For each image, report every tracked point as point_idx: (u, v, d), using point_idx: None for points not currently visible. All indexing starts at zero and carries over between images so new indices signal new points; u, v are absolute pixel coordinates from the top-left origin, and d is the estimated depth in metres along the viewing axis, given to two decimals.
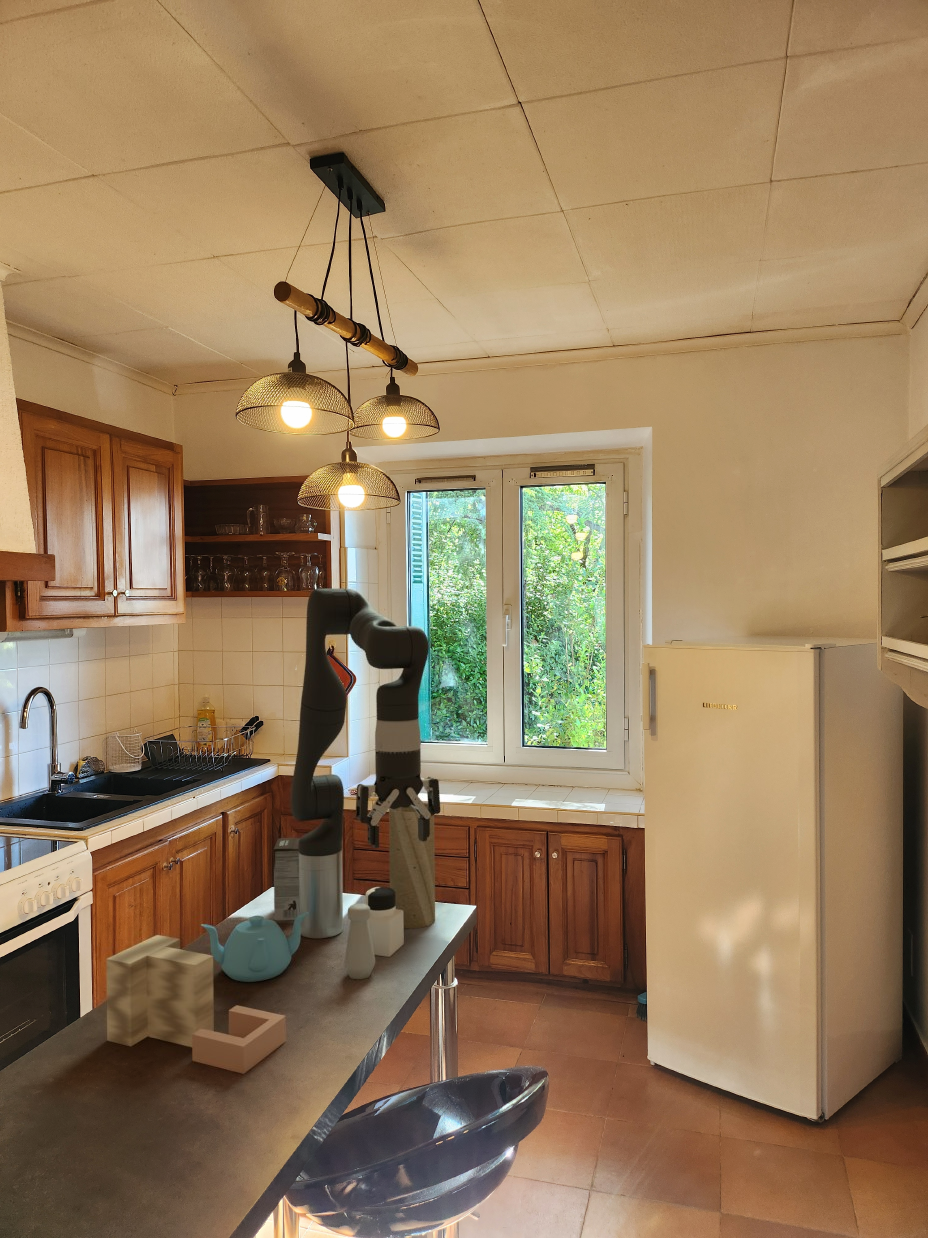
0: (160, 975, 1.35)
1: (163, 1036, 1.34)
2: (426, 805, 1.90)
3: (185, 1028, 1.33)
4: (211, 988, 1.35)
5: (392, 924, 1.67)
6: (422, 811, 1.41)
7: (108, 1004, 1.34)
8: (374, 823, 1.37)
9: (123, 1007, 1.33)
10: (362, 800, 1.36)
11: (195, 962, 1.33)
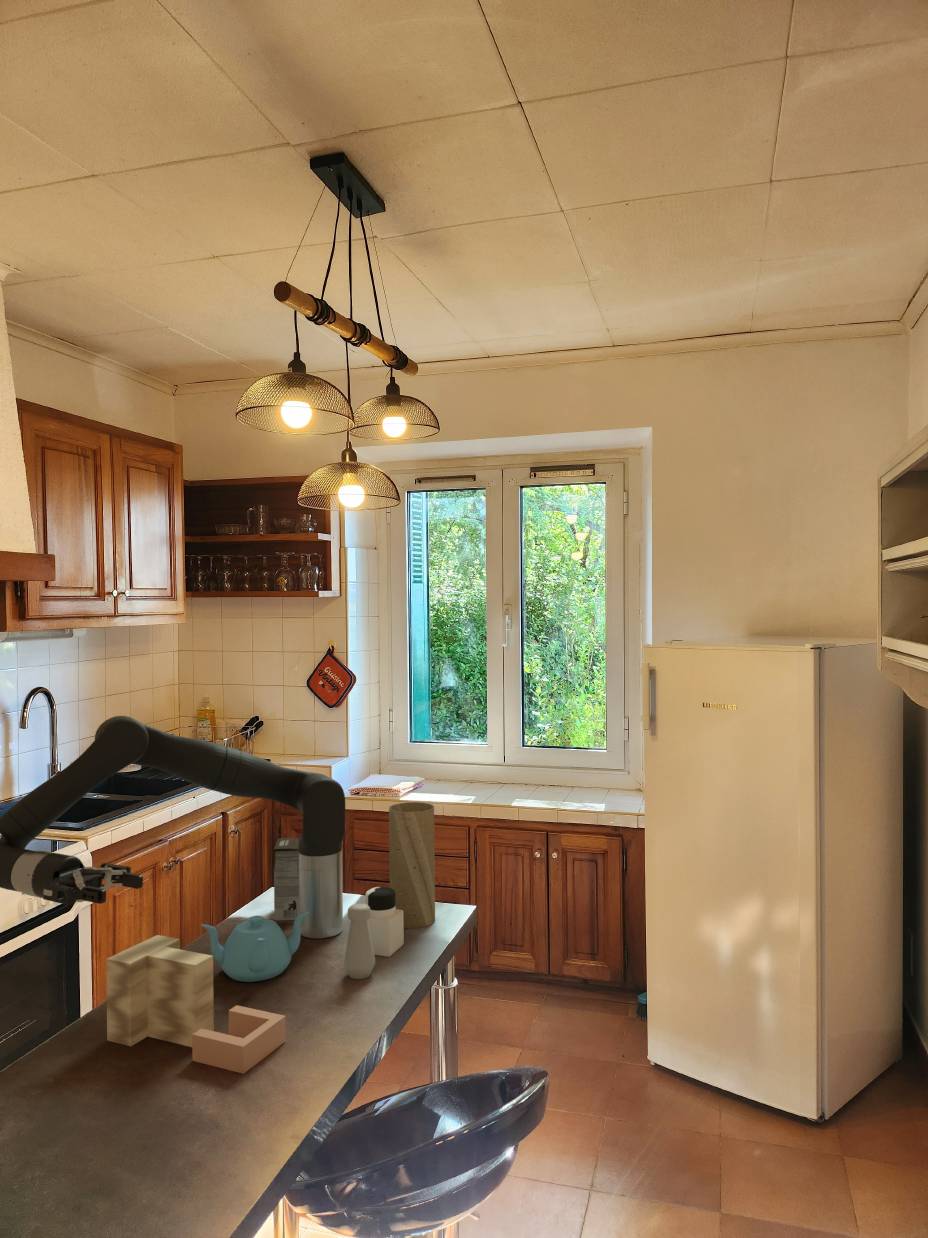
0: (160, 975, 1.35)
1: (163, 1036, 1.34)
2: (426, 805, 1.90)
3: (185, 1028, 1.33)
4: (211, 988, 1.35)
5: (392, 924, 1.67)
6: None
7: (108, 1004, 1.34)
8: None
9: (122, 1007, 1.33)
10: None
11: (195, 962, 1.33)
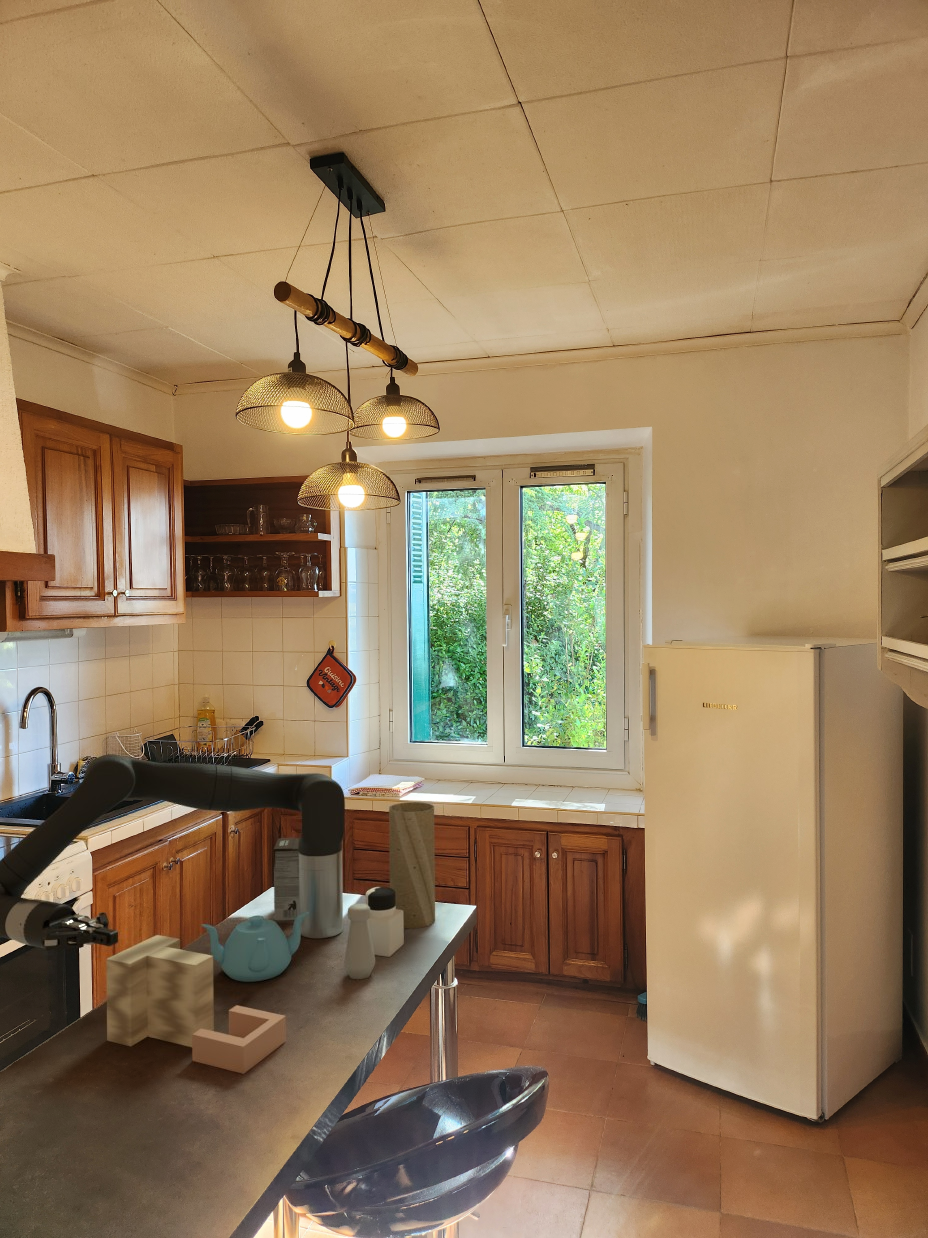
0: (160, 975, 1.35)
1: (163, 1036, 1.34)
2: (426, 805, 1.90)
3: (185, 1028, 1.33)
4: (211, 988, 1.35)
5: (392, 924, 1.67)
6: None
7: (108, 1004, 1.34)
8: None
9: (122, 1007, 1.33)
10: None
11: (195, 962, 1.33)
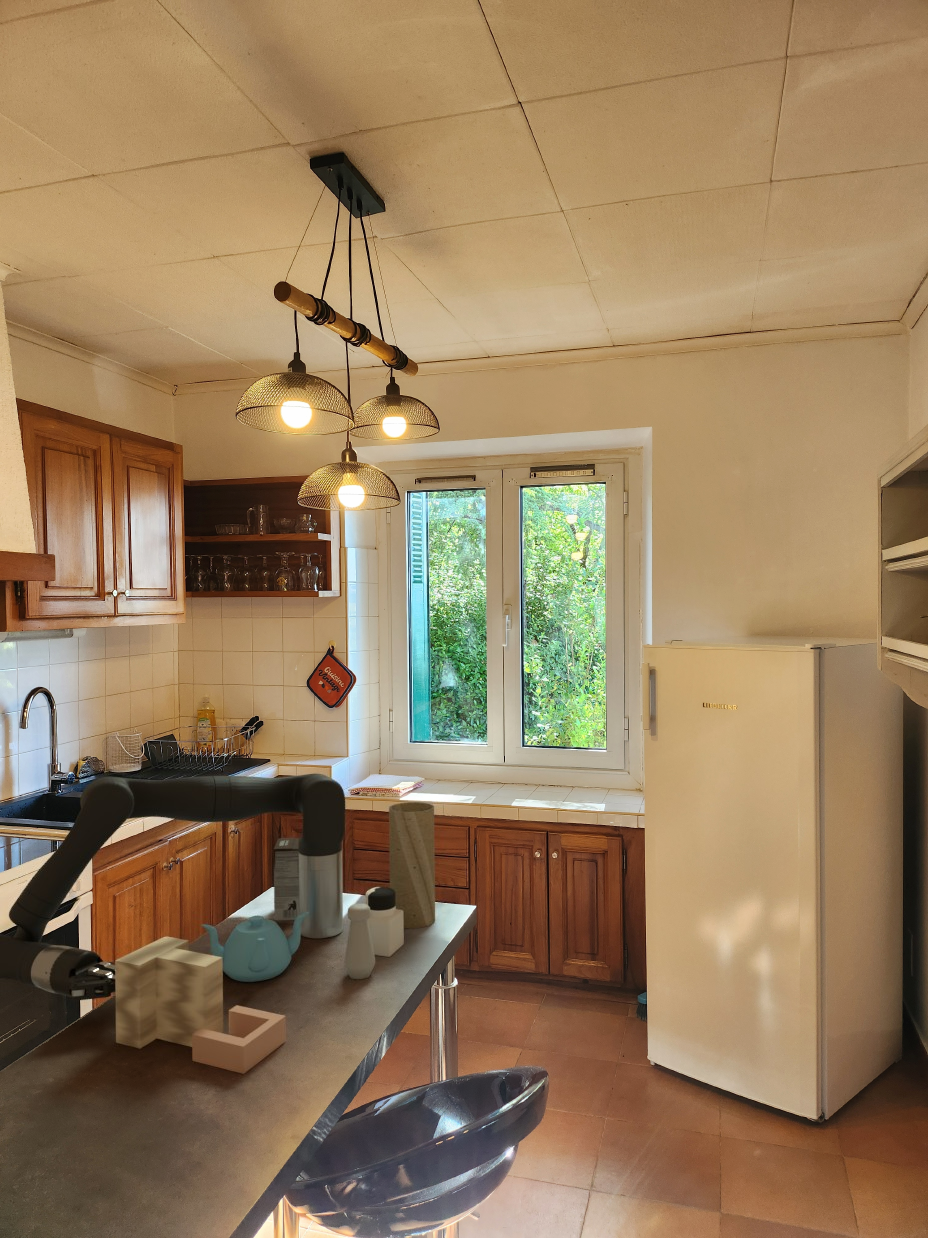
0: (169, 977, 1.34)
1: (172, 1038, 1.34)
2: (426, 805, 1.90)
3: (195, 1030, 1.32)
4: (220, 990, 1.34)
5: (392, 924, 1.67)
6: None
7: (117, 1006, 1.34)
8: None
9: (132, 1009, 1.32)
10: None
11: (205, 964, 1.32)
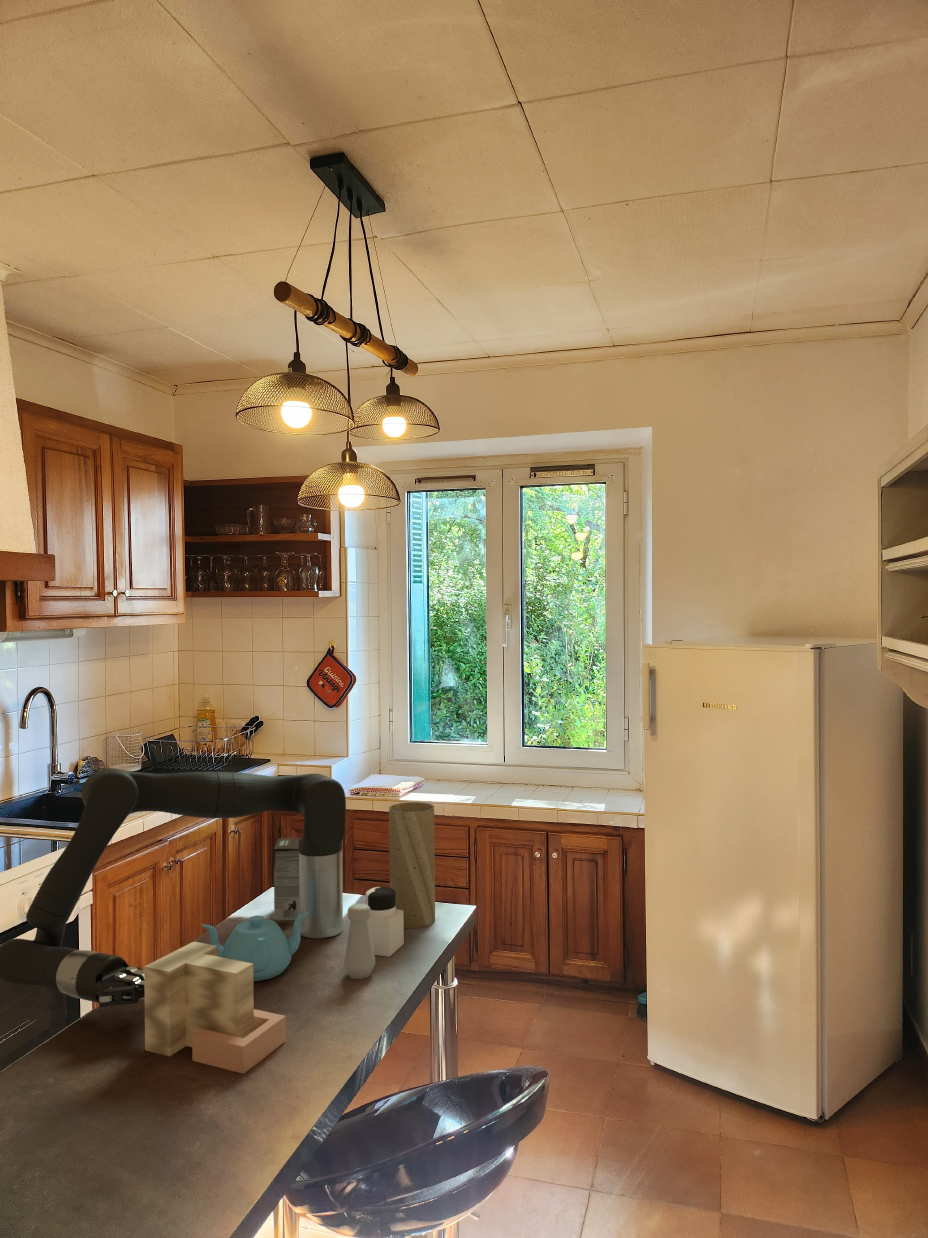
0: (199, 983, 1.31)
1: None
2: (426, 805, 1.90)
3: None
4: (251, 997, 1.32)
5: (392, 924, 1.67)
6: None
7: (146, 1013, 1.31)
8: None
9: (161, 1016, 1.30)
10: None
11: (236, 970, 1.30)
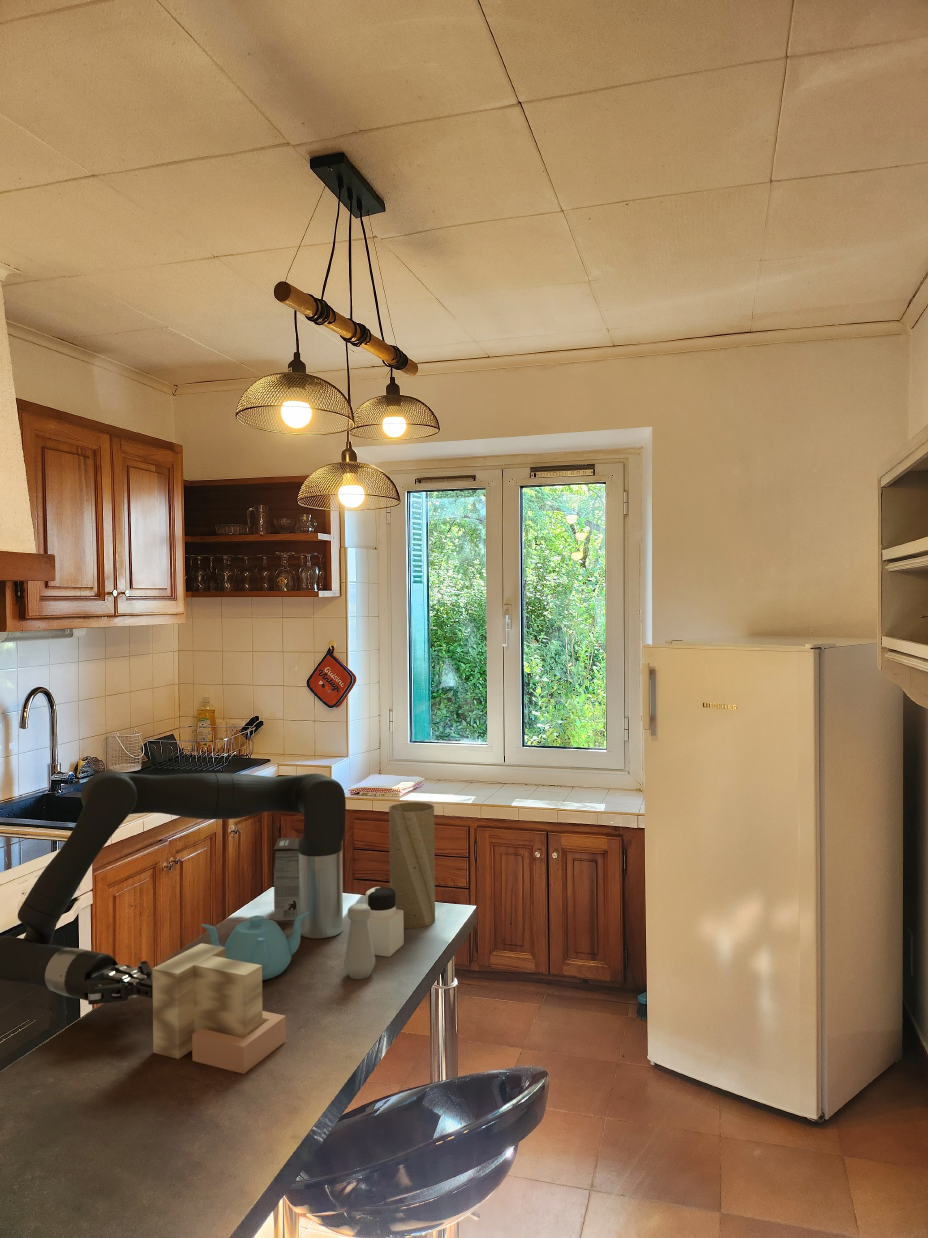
0: (207, 985, 1.31)
1: None
2: (426, 805, 1.90)
3: None
4: (260, 999, 1.31)
5: (392, 924, 1.67)
6: None
7: (154, 1015, 1.30)
8: None
9: (170, 1019, 1.29)
10: None
11: (245, 972, 1.29)
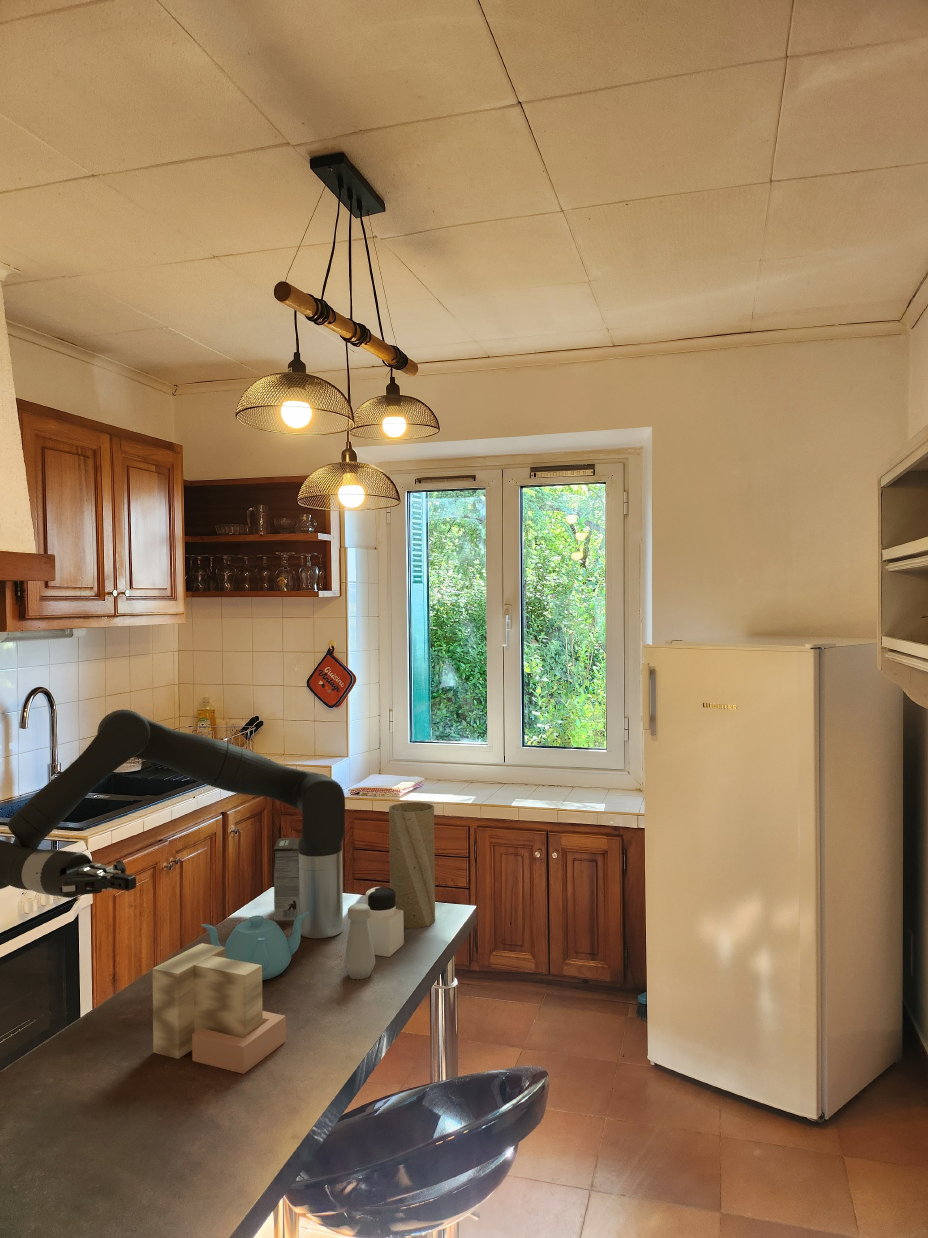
0: (207, 985, 1.31)
1: None
2: (426, 805, 1.90)
3: None
4: (260, 999, 1.31)
5: (392, 924, 1.67)
6: None
7: (154, 1015, 1.30)
8: None
9: (170, 1019, 1.29)
10: None
11: (245, 972, 1.29)
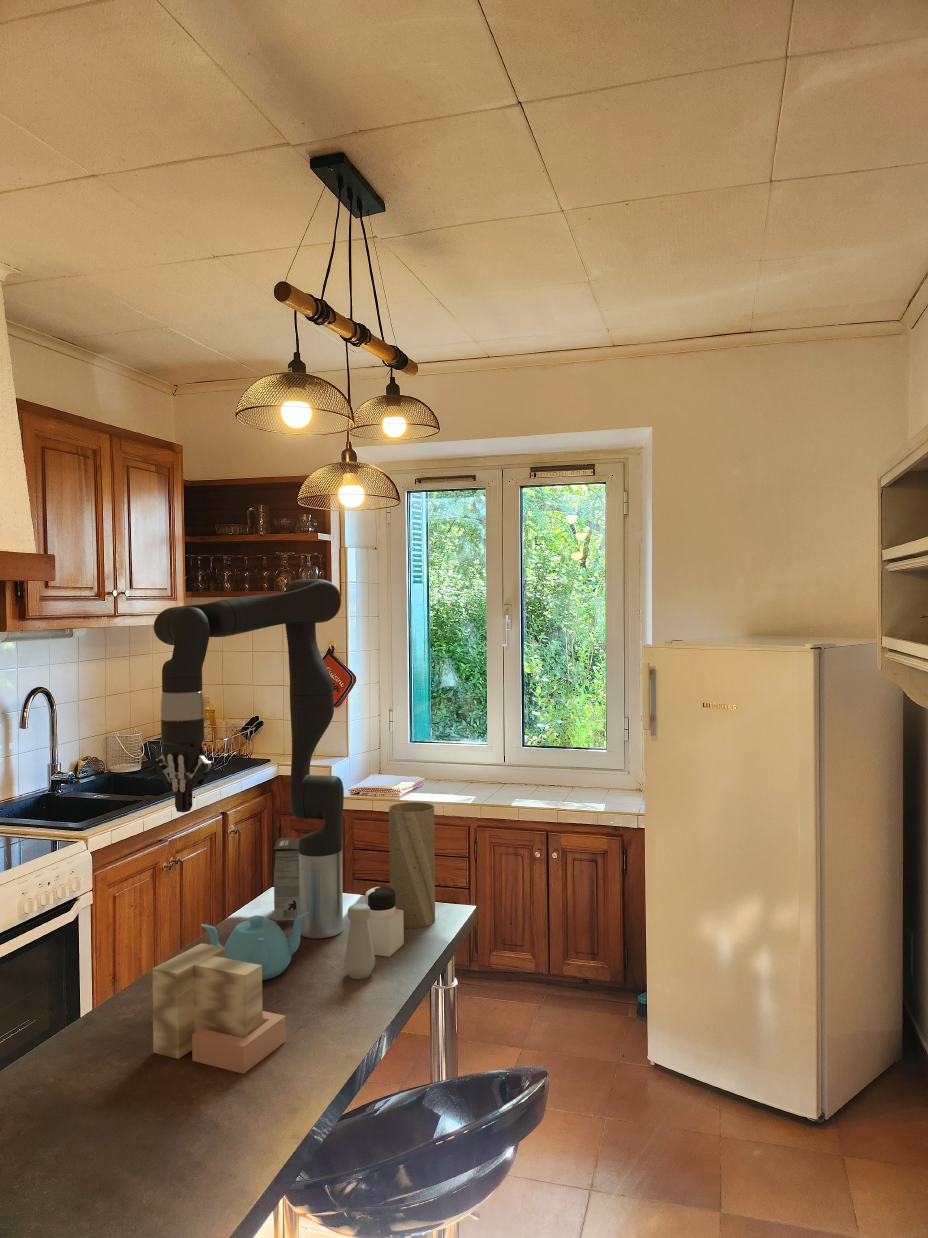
0: (207, 985, 1.31)
1: None
2: (426, 805, 1.90)
3: None
4: (260, 999, 1.31)
5: (392, 924, 1.67)
6: (181, 782, 1.53)
7: (154, 1015, 1.30)
8: (174, 789, 1.53)
9: (170, 1019, 1.29)
10: (157, 771, 1.55)
11: (245, 972, 1.29)
